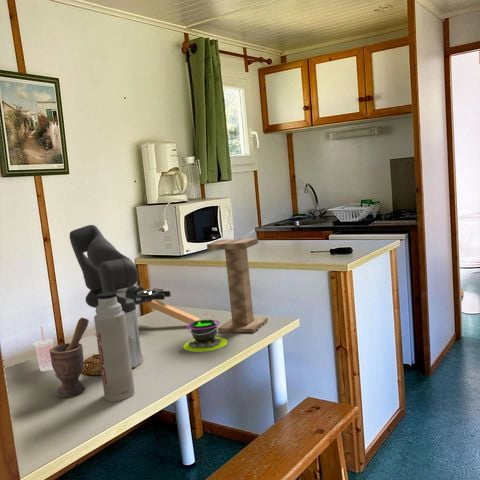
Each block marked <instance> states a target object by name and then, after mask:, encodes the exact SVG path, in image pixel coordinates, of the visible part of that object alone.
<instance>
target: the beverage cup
mask: <svg viewBox="0 0 480 480" xmlns="http://www.w3.org/2000/svg"><path fill="white" fill-rule="evenodd" d="M43 330H44V329H43V326H40V331H41V339H39V340H37V341H34V342H33V347H34V349H35V353H36V357H37V363H38V366H39V370H40V372H49V371H52V370H54V369H53V367H52V363H51V356H50V349H51V348H53V347H54V338H45V336H44V331H43Z"/></svg>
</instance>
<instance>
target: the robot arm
mask: <svg viewBox="0 0 480 480" xmlns="http://www.w3.org/2000/svg"><path fill="white" fill-rule="evenodd" d="M69 241H70V245H71V248H72V250H73V252H74V255H75V258H76V260H77V262H78V265H79V267H80V269H81V272H82V275H83V280H84V283H85V286H86V288H87V289H88V290H89V292H88V293H87V294H86V296H85V303H86V304H87V306H89V307H91V308H94V309H96V307H97V306H98V305H99V304H98V300H99V299H98V295H99V294H102V293H107V292H116V293H117V296H116V298H117V302H118V303H120V304H121V307H122V311H124V312H125V318H126V326H127V334H128V342H129V350H130V360H131V367H132V368H137V367H138V366H139V365H141V364H142V363H143V356H142V355H143V353H142V348H141V341H140V332H139V323H138V322H139V321H138V315H137V306H139V305H140V306H141V305H142V304H143V303H145V302H147V303H148V302H149V301H150V302H151V301H152V300H158V301H160V300H165V299H166V298H170V297H171V295H172V294H171V291H170V290H164V289H162V288H156V287H154V288H152V289H150V288H148V289H144V287H143V286H141V285H136V284H137V282H138V279H139V273H138V268H137V267H136V265H135V263H134V262H133V260H132V259H131V258H129V257H128V256H126V255H124V254H122V253H121V252H120V251H119V250H117V249H116V248H115V247H116V246H114V245H113V244H112V243H111V242H109V241H108V240H107V239H106V238H105V237H104V235H103V234H102V232H101V230H100V229H99V228H98V227H97V226H96V225H95V224H88V225H85V226H82V227H80V228H76V229H73V230H71V231H70V232H69ZM85 253H86V254H85Z"/></svg>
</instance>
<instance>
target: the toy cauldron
mask: <svg viewBox="0 0 480 480" xmlns="http://www.w3.org/2000/svg"><path fill="white" fill-rule="evenodd" d="M203 312H206V313H205V314H204V313H203V314H202V316H208V311H203ZM195 315H197V316H198V313H195ZM195 315H194V316H195ZM197 316H195V317H197ZM212 316H213V317H211V318H207V319H201V318H200V319H199V321H196V322H193V323H191V324H186V328H187V331H188V332H189V333H190V334H191V336H192V338H193V339H191V340H190V341H187V342H186V343H184V345H183V349H184V350H185V351H187V352H193V353H202V352H211V351H215V350H219V349H221V348H223V347H225V346H226V345H227V344H228V340H227V339H226V338H223V337H220V336H218V337H217V333H218V332H217V331H218V325H220V324H221V322H220V321H219V320H216V319H213V318H214V317H215V315H212ZM192 321H194V320H192Z"/></svg>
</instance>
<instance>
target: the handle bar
mask: <svg viewBox="0 0 480 480" xmlns="http://www.w3.org/2000/svg"><path fill="white" fill-rule="evenodd" d="M146 306H147V307H149V308H151V309H153V310H156V311H158V312H160V313H163V314H165V315H166V316H170V317H172V318H174V319H176V320H178V321H181V322H183V323H186V325H188V324H191V323H193V322H196V321H199V319H200V320H201V317H200V318H199V317H197V316H196V317H195V315H192V314H190V313H188V312H186V311H183V310H181V309H179V308H176V307H175V306H172V305H169V304H167V303H164V302H162V301H160V300H152V301H151V302H150V301H149V302H147V304H146ZM192 320H194V321H192Z"/></svg>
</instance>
